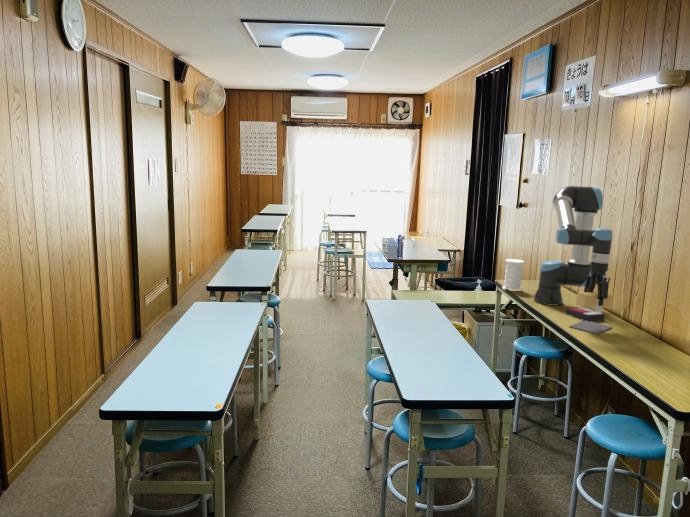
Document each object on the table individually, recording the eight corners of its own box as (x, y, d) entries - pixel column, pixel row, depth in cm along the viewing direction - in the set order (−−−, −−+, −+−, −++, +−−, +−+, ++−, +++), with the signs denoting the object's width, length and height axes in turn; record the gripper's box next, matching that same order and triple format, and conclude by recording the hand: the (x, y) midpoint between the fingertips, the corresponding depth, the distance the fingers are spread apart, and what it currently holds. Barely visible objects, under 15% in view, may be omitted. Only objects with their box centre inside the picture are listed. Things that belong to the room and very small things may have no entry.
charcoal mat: (585, 321, 266) (585, 320, 265) (612, 328, 256) (612, 326, 256) (569, 327, 254) (569, 326, 254) (597, 334, 245) (597, 333, 245)
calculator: (582, 306, 282) (605, 312, 268) (581, 314, 282) (604, 321, 268) (565, 307, 278) (588, 313, 264) (565, 315, 279) (587, 322, 265)
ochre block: (585, 295, 248) (612, 295, 251) (577, 292, 253) (603, 292, 256) (583, 307, 249) (610, 307, 252) (575, 304, 254) (601, 304, 257)
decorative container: (525, 292, 323) (528, 262, 320) (506, 291, 322) (509, 262, 318) (516, 287, 335) (519, 259, 331) (498, 287, 333) (501, 258, 330)
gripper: (579, 258, 258) (573, 305, 262) (606, 265, 240) (600, 316, 243) (593, 258, 259) (587, 304, 263) (621, 265, 241) (614, 315, 245)
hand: (593, 310), depth 253 cm, fingers closed on ochre block, 6 cm apart
